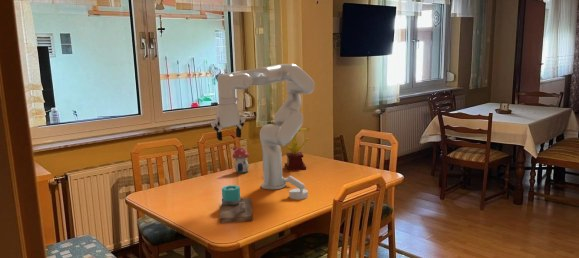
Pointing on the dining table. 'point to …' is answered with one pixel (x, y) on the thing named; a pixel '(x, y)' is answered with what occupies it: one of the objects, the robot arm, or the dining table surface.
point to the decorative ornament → (241, 160)
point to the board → (236, 210)
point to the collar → (231, 193)
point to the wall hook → (297, 193)
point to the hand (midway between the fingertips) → (229, 138)
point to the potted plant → (295, 155)
